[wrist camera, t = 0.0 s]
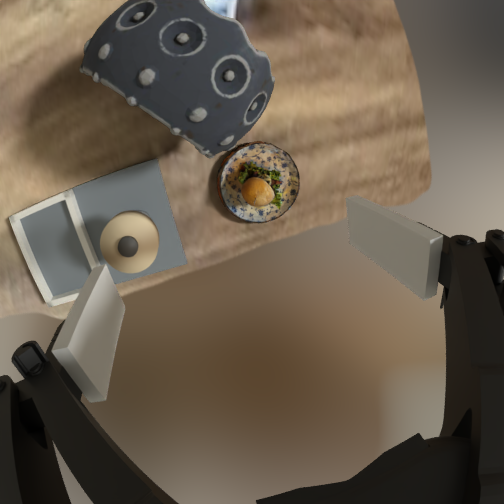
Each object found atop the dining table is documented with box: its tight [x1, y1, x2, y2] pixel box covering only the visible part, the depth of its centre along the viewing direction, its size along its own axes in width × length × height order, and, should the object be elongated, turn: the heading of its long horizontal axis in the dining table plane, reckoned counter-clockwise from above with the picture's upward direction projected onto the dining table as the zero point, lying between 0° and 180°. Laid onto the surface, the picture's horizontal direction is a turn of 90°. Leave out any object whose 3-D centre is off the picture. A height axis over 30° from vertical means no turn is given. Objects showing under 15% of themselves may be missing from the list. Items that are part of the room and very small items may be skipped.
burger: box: [217, 141, 300, 223], centre depth 39 cm, size 12×12×8 cm
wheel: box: [100, 210, 159, 273], centre depth 33 cm, size 7×7×3 cm
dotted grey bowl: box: [80, 0, 275, 158], centre depth 26 cm, size 11×20×20 cm, turn 51°
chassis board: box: [9, 158, 187, 307], centre depth 38 cm, size 16×26×4 cm, turn 102°
